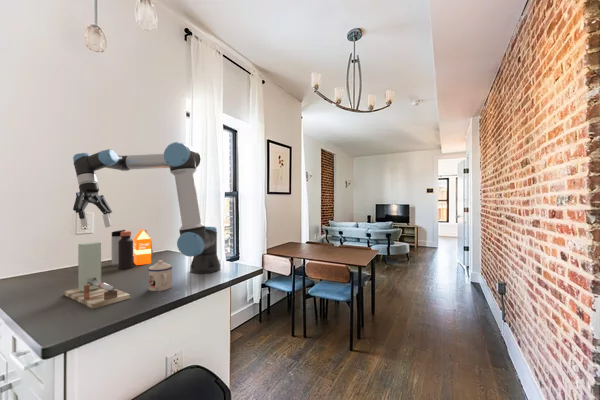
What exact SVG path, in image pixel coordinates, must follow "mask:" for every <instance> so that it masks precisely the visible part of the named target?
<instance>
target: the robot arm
mask: <svg viewBox="0 0 600 400" xmlns="http://www.w3.org/2000/svg"><path fill="white" fill-rule="evenodd" d="M72 157H73V158H72V159H73V166H74V170H75V173H76V178H77V179H76V180H77V185H78V189H79V191H78V192H75V200H74V205H73V208H72V211H75V214H78V218H79V219H80V223H81V227H83V228H84V227H86V226H89V225H90V224H89V218H88V216H87V211H86V210H85V209H86V208H87V206H88V205H89V204H93V205H94V206H96V207H97V208H98V210H100V212H101V213H102V214H103V215H102V218H103V219H102V220H103V223H104V227H105V228H110V227H112V222H111V217H110V214H112V213H113V210H112V209H111V207H110V206H109V204H108V202H107V201H106V198H105V195H103V194H100V195H99V191H100V188H99V184H98V179H97V175H96V174H97V173H96V171H98V170H102V169H104V168H106V169H112V170H118V171H123V172H125V171H126V172H128V171H130V170H148V169H169V170H170V174H172V175H173V176H174V181H175V189H176V194H177V201H178V207H179V213H180V220H181V221H180V222H181V226H180V227H179V229H178V231H179V237H178V238H177V240H176V247H177V249H178V251H179V253H180V254H182V255H184V256H186V257H192V261H191V263H190V266H189V267H190V268H189V272H190V273H193V274H209V273H210V274H211V273H215V272H218V271H220V270H221V263H220V260H219V257H218V231H217V227H216V226H209V225H207V226H206V225H205V224H204V223H202V221H201V220H202V219H201V214H200V213H201V212H200V209H199V207H200V206H199V199H198V193H197V189H196V188H197V187H196V181H195V173H196V172H197V168H198V167H199V166H200V164H201V162H202V155H201V153H200V152H199V151H198V150H197V149H196V148H195V147H192V146H190V145H187V144H186V143H184V142H178V141H174V142H171V143H170V144H168V145H167V146H166V148H165V149H164V151H163V153H152V154H151V153H150V154H149V153H147V154H133V155H132V154H131V155H129V154H128V155H119V154H117V153H116V151H114V150H113V149H110V148H107V149H104V150H100V151H98V152H95V153H93V154H90V153H87V152H80V153H76V154H74V155H73V156H72Z"/></svg>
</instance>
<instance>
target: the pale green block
mask: <svg viewBox="0 0 600 400" xmlns="http://www.w3.org/2000/svg"><path fill="white" fill-rule="evenodd" d="M77 245H78V246H77V249H78V250H77V251H78V253H77V254H78V257H77V262H78V267H77V268H78V269H77V270H78V271H77V272H78V273H77V274H78V282H77V288H78V290H80V291H82V292H83V291H84V285H89V290H92V289H96V288H99V287H96V286H93V285H91V284H88V279H94V280H97V281H99V282H102V243H101V242H99V241H94V242H85V243H84V242H83V243H78V244H77Z"/></svg>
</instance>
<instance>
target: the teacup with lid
mask: <svg viewBox="0 0 600 400" xmlns="http://www.w3.org/2000/svg"><path fill="white" fill-rule="evenodd" d="M172 270H173V265H172V264H169V263H167V262H164V260H163V259H161V260H158V261H157V262H156V263H154V264H153V265H150V266H149V267H148V290H149V291H151V292H161V291H167V290H169V289H171V288H172V286H173V283H172V282H173V281H172V279H173V276H172V275H173V273H172V272H173V271H172Z"/></svg>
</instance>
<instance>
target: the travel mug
mask: <svg viewBox="0 0 600 400" xmlns="http://www.w3.org/2000/svg"><path fill="white" fill-rule="evenodd" d="M123 231H126V230H125V229H121V230H116V231H112V232H111V266H112V267H119V248H118V242H119V240H120V239H121V232H123Z"/></svg>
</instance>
